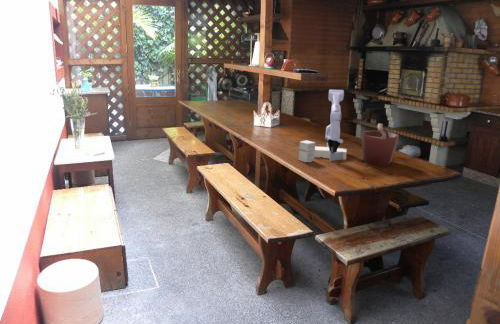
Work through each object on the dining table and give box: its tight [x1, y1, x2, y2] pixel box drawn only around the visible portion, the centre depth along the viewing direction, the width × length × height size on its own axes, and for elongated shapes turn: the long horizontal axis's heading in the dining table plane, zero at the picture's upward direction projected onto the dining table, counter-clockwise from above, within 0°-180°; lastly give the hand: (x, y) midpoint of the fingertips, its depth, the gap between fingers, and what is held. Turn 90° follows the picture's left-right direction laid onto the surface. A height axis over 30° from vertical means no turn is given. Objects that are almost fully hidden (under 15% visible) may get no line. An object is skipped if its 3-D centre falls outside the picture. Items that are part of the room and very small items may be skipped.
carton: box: [314, 145, 348, 160], centre depth 275 cm, size 10×24×5 cm, turn 78°
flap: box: [329, 147, 344, 162], centre depth 265 cm, size 2×10×9 cm, turn 119°
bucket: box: [360, 123, 400, 167], centre depth 261 cm, size 24×22×25 cm
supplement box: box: [298, 139, 316, 163], centre depth 262 cm, size 7×7×13 cm
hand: (332, 151), depth 262 cm, fingers open, 3 cm apart
